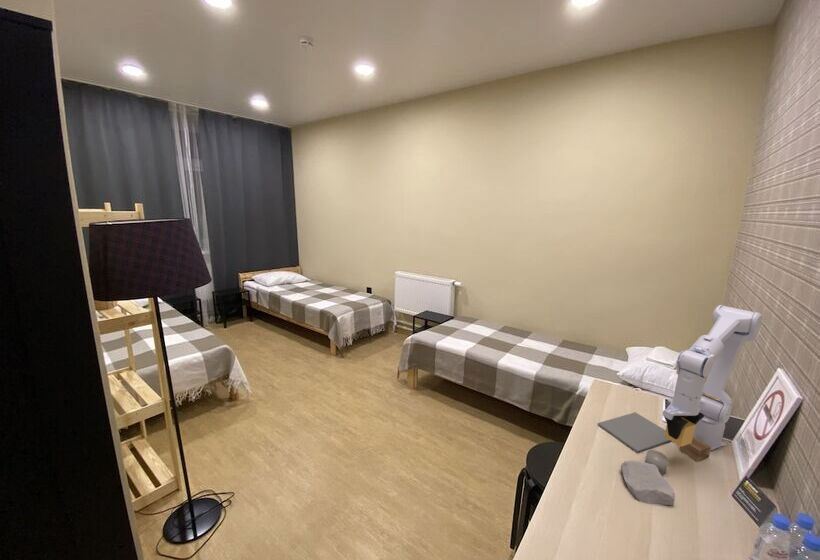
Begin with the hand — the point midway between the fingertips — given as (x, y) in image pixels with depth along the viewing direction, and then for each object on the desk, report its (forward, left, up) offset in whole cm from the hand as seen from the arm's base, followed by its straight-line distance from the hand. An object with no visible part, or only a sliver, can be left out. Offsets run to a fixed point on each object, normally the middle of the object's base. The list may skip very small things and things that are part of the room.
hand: (678, 434), depth 96 cm
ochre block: (0, 0, -2) cm, 2 cm away
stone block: (+17, +3, -9) cm, 20 cm away
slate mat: (-2, -13, -9) cm, 16 cm away
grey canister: (+8, 0, -9) cm, 12 cm away
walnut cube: (-9, 0, -9) cm, 13 cm away
